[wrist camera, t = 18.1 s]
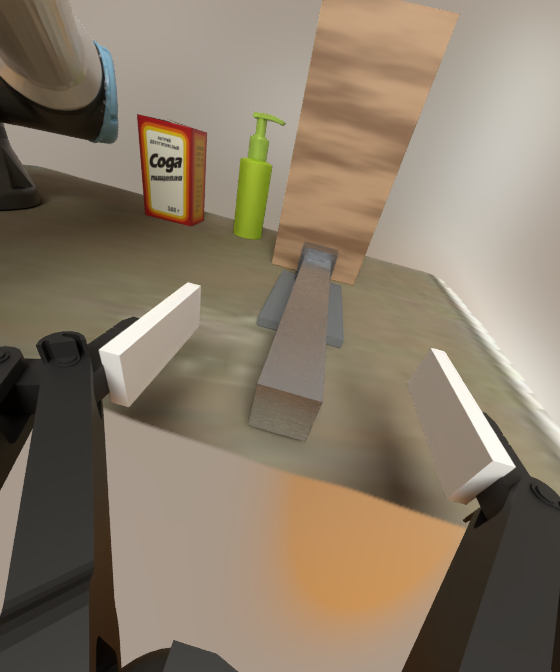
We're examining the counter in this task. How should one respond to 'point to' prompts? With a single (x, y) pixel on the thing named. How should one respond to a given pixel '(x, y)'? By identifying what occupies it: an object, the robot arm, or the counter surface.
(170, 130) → the baking soda box
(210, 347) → the counter surface
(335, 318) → the base plate
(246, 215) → the soap dispenser
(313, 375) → the pin
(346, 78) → the brown wooden block
